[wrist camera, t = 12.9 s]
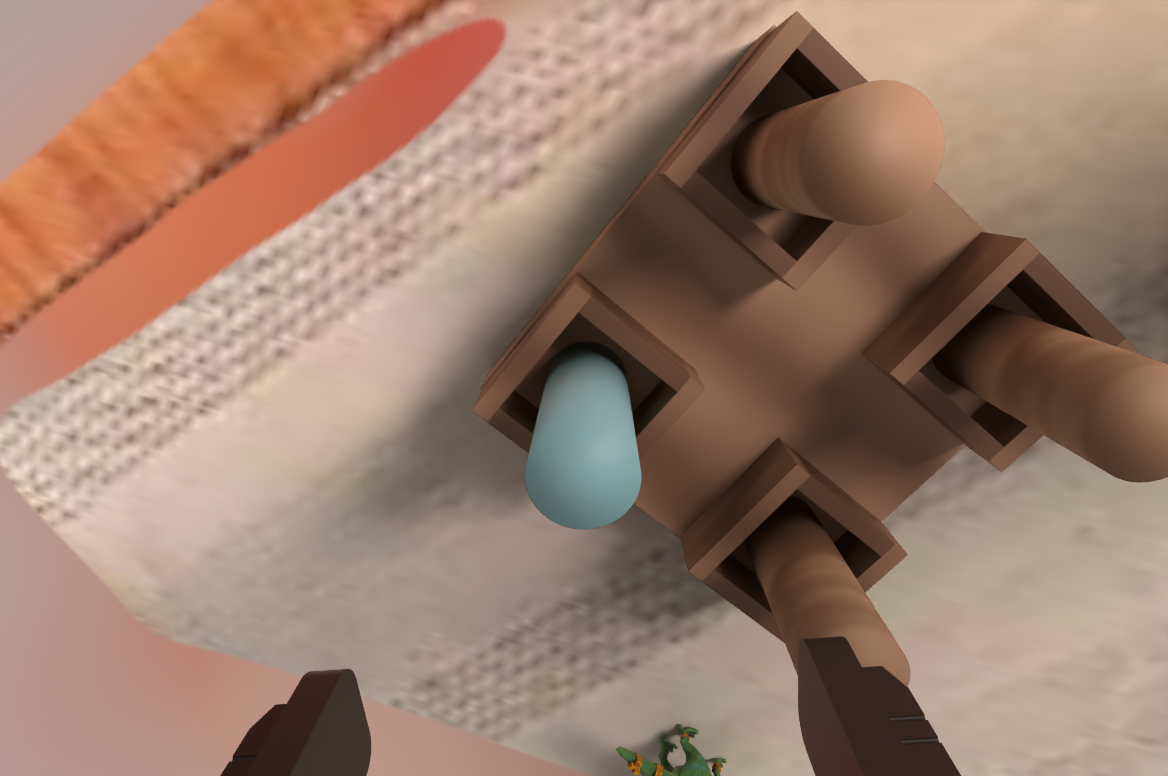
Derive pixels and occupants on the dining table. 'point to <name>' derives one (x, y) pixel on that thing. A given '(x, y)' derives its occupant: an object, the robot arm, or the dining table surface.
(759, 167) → the stool seat
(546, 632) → the dining table surface
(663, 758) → the figurine
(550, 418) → the loose leg
